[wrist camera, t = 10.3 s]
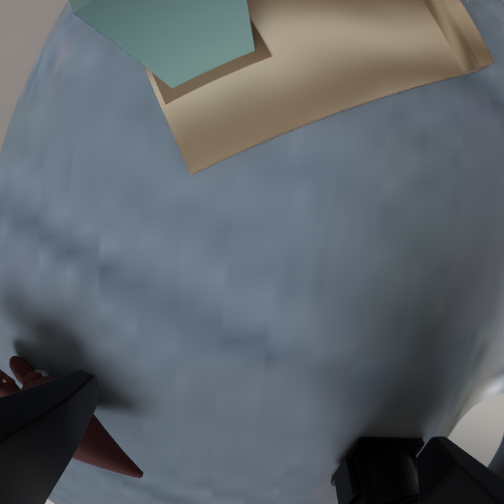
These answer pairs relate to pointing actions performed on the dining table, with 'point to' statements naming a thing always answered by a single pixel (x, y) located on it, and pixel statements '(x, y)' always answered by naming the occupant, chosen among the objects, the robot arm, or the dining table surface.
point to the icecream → (95, 436)
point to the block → (173, 32)
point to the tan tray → (317, 69)
